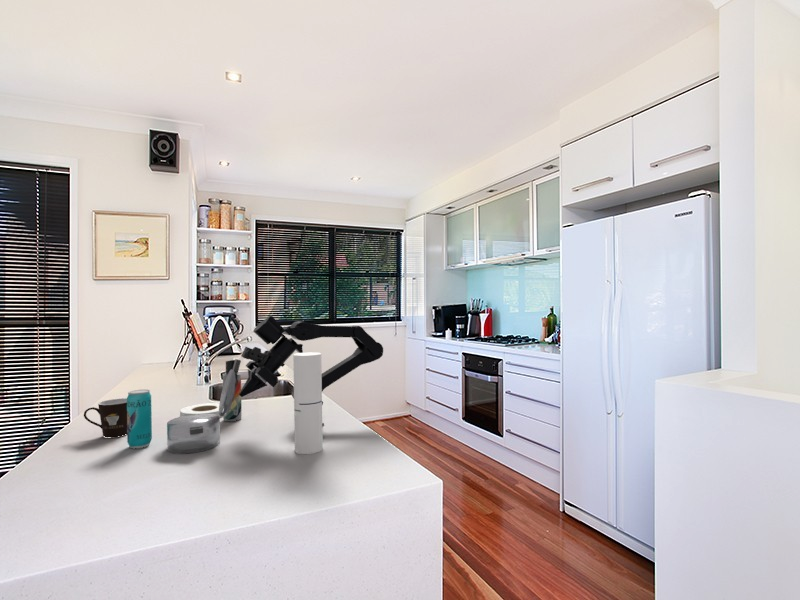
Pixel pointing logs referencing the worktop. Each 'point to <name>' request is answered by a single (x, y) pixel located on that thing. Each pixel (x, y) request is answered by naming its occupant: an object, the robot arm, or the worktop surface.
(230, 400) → the lid
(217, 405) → the roll of tape
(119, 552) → the worktop surface
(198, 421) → the pot
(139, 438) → the beverage can
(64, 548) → the worktop surface
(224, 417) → the lotion bottle
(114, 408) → the coffee mug
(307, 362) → the cylindrical container
